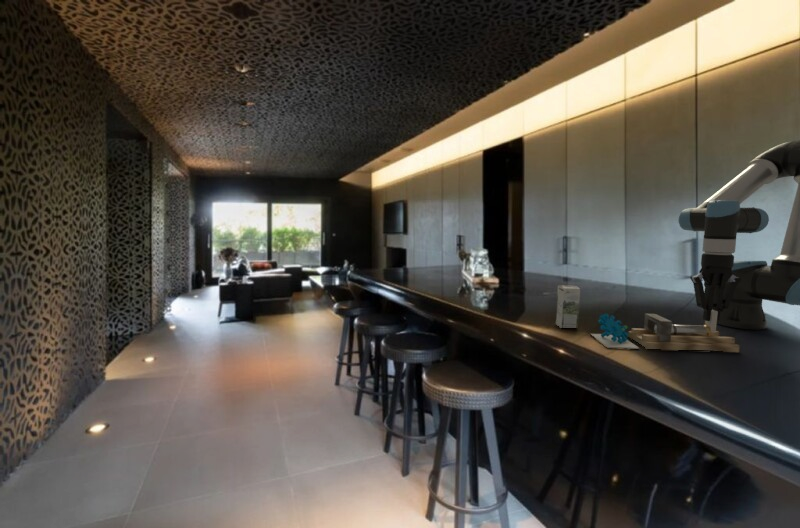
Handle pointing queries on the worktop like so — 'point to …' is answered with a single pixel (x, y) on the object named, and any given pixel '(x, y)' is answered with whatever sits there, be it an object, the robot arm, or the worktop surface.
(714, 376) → the worktop surface
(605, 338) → the pad
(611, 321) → the blue knobby toy
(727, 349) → the stepped wooden platform
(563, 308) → the syrup box
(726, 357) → the worktop surface
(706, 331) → the shaft
